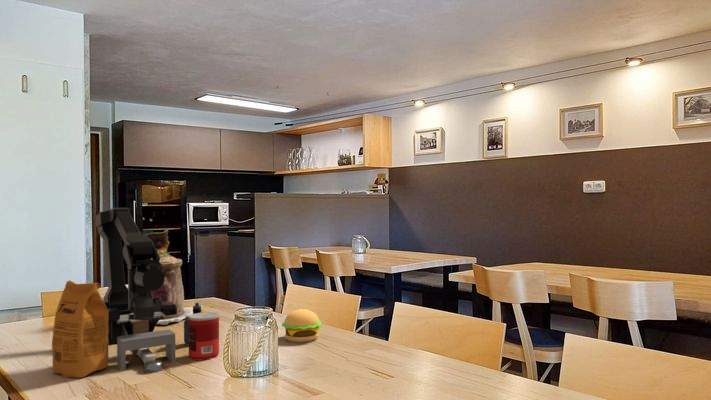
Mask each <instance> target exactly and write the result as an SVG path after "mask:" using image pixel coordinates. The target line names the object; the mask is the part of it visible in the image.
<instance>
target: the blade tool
mask: <svg viewBox="0 0 711 400" xmlns="http://www.w3.org/2000/svg"><path fill="white" fill-rule="evenodd" d="M131 332H132V334H140V333H147V332H149V322H148V321H147V320H140V321H132V322H131ZM129 351H130V352H131V354H132V355H138V357H139V358H140V359H141V360H142V362H143V363H146V362H148V361H153V360H156V355H155V354H154V352H152V351H151V349H150V347H149V348H142V349H136V350H129Z"/></svg>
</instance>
